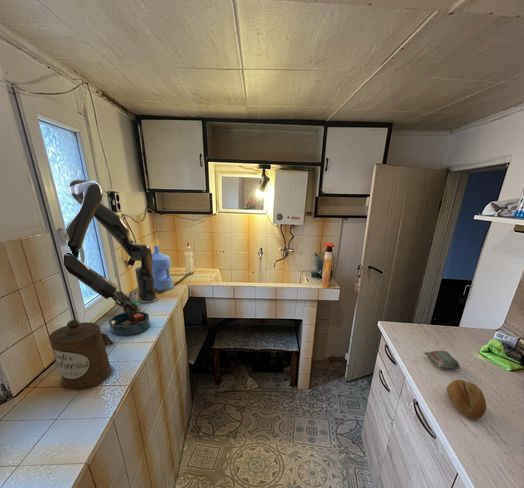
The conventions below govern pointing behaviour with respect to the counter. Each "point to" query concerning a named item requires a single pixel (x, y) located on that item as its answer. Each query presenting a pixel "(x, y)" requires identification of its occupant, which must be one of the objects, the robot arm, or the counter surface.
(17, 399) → the counter surface
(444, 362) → the packaged food
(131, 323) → the block
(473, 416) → the bread roll
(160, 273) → the water jug
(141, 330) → the bowl
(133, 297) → the food container
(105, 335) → the pottery mug
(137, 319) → the block
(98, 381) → the wooden container
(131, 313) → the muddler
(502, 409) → the counter surface
